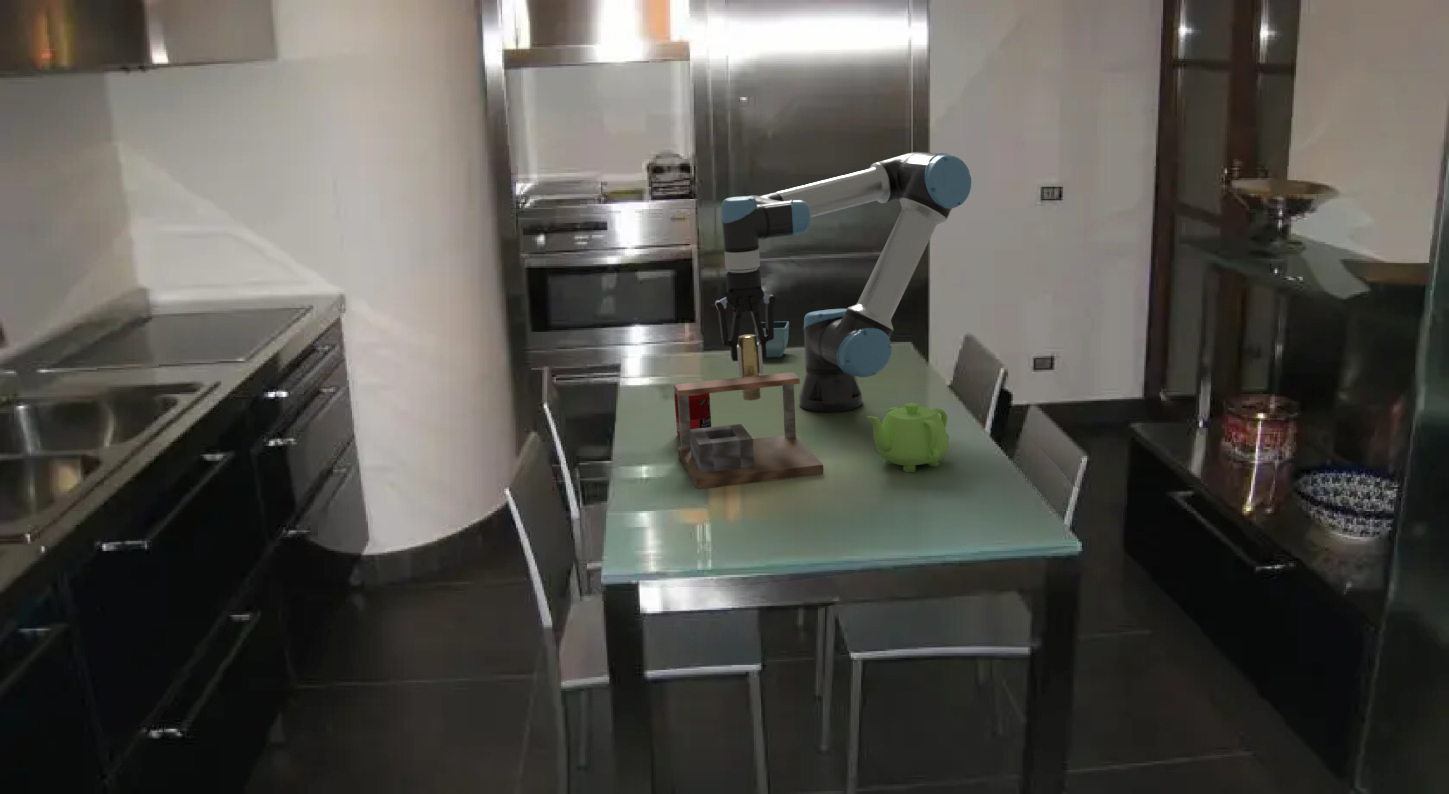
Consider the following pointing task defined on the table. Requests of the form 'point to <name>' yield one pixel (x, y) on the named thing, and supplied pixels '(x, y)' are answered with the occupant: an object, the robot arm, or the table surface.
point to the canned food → (696, 411)
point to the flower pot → (776, 339)
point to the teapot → (911, 436)
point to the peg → (749, 363)
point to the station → (742, 440)
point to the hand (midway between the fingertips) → (749, 373)
